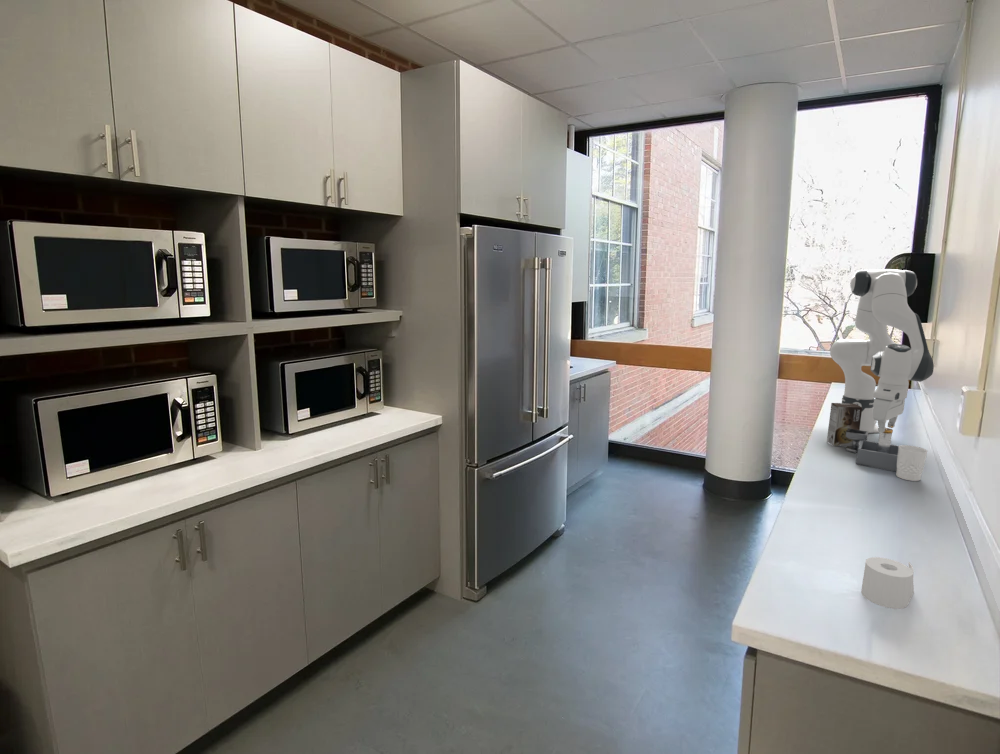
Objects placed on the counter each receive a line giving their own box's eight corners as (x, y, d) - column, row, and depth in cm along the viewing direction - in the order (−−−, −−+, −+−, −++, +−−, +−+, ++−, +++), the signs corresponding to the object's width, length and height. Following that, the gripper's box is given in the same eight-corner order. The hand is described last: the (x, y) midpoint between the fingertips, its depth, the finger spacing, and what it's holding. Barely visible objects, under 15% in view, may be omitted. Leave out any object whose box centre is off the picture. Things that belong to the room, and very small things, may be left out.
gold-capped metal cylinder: (872, 461, 208) (877, 428, 206) (877, 459, 211) (881, 426, 209) (886, 464, 205) (891, 431, 203) (890, 462, 208) (895, 429, 205)
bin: (859, 454, 218) (861, 439, 217) (906, 462, 210) (908, 447, 209) (855, 464, 206) (858, 449, 205) (905, 473, 198) (908, 457, 197)
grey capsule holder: (845, 447, 226) (847, 428, 225) (865, 450, 223) (868, 431, 221) (843, 451, 221) (846, 432, 220) (864, 455, 217) (867, 435, 216)
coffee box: (849, 442, 233) (855, 403, 230) (857, 447, 227) (863, 407, 224) (825, 441, 234) (830, 402, 231) (833, 446, 228) (838, 405, 225)
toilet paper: (913, 592, 123) (918, 561, 122) (904, 614, 115) (909, 581, 114) (869, 577, 128) (873, 548, 127) (856, 597, 120) (861, 566, 119)
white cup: (895, 479, 192) (900, 449, 190) (892, 472, 199) (896, 443, 197) (924, 483, 188) (929, 453, 187) (920, 476, 195) (925, 447, 194)
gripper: (891, 386, 212) (886, 422, 215) (871, 393, 199) (865, 432, 202) (912, 389, 207) (906, 426, 210) (892, 396, 194) (886, 436, 197)
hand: (886, 429), depth 206 cm, fingers open, 8 cm apart
